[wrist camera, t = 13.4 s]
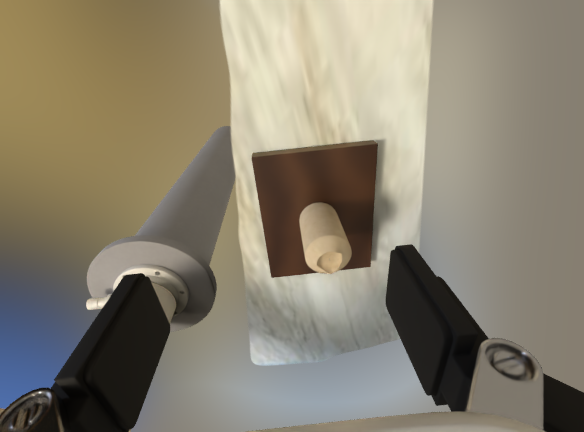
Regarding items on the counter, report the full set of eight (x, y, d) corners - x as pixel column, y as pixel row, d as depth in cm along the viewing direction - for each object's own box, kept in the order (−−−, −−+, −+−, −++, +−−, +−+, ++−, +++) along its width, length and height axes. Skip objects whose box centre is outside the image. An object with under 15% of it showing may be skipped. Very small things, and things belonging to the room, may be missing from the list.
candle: (336, 233, 42) (353, 280, 33) (299, 236, 42) (306, 283, 33) (338, 200, 39) (356, 241, 31) (298, 202, 39) (306, 244, 30)
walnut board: (271, 270, 47) (271, 277, 45) (252, 153, 37) (251, 157, 36) (367, 259, 47) (370, 266, 46) (373, 140, 37) (377, 143, 36)
